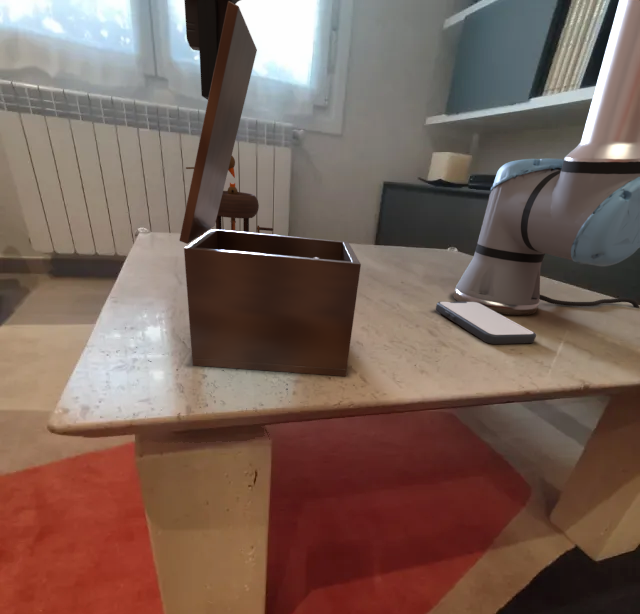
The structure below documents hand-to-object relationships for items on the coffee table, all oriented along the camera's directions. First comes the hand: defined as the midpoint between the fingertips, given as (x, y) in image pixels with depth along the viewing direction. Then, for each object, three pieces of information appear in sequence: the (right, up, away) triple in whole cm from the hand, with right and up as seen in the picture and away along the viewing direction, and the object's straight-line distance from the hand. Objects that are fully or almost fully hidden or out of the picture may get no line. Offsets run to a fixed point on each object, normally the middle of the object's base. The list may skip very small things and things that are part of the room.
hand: (212, 98), depth 39 cm
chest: (+4, -20, +13) cm, 25 cm away
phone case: (+36, -14, +29) cm, 48 cm away
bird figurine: (-7, -1, +43) cm, 43 cm away
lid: (+1, -3, +2) cm, 3 cm away
